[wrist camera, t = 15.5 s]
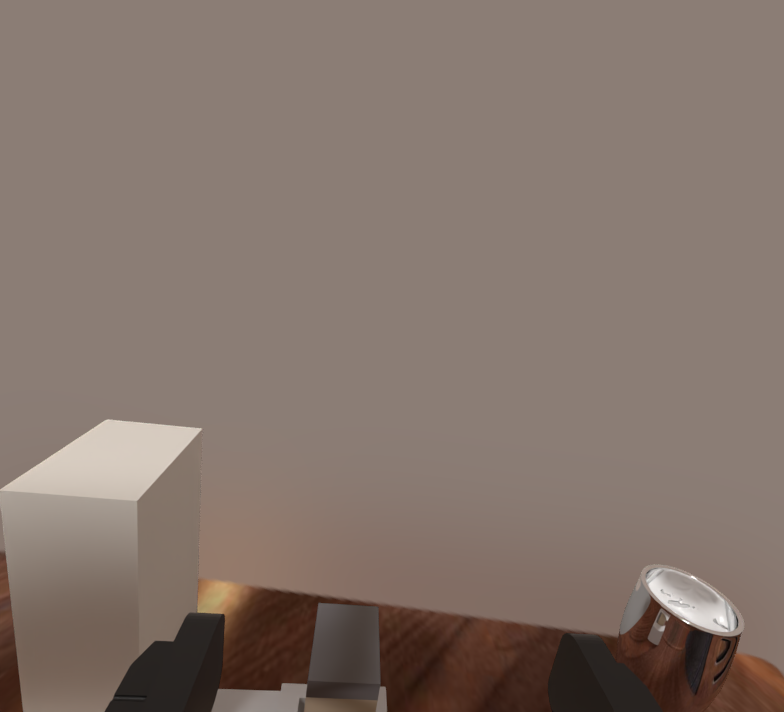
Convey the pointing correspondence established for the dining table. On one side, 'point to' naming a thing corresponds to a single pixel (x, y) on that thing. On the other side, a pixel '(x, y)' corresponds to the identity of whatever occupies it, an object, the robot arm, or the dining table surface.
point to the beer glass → (679, 638)
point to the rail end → (344, 660)
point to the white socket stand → (109, 565)
